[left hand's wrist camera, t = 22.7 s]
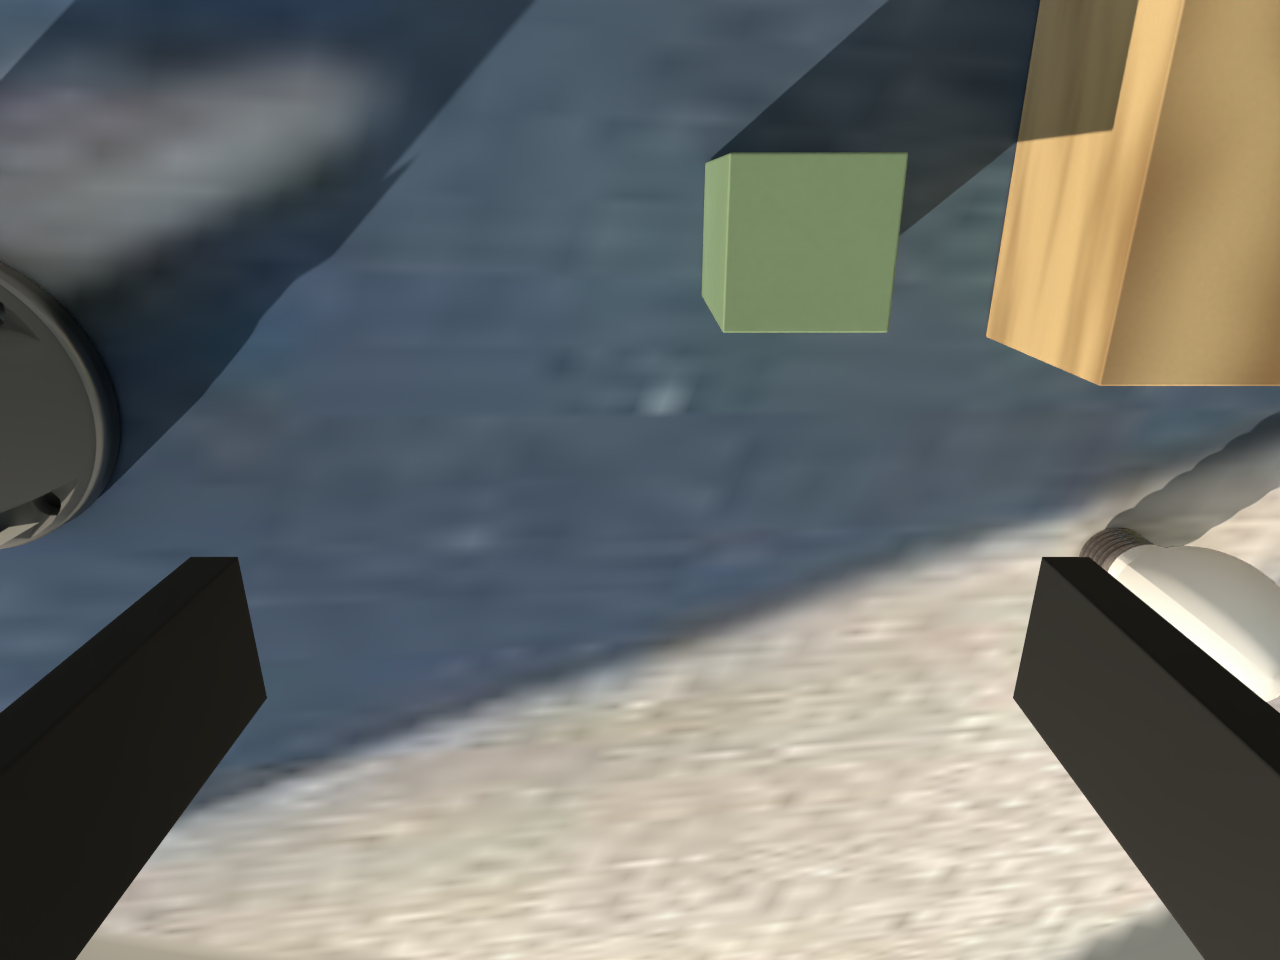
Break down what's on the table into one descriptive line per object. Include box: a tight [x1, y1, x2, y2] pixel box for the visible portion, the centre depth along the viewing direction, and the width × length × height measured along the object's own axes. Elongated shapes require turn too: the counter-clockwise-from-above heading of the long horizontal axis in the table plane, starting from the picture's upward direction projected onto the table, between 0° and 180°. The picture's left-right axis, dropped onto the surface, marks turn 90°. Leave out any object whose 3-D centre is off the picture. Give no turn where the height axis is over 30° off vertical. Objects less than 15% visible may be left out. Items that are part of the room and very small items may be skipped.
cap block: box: [702, 152, 908, 333], centre depth 31 cm, size 6×6×10 cm
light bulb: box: [1079, 528, 1280, 702], centre depth 37 cm, size 7×7×11 cm
